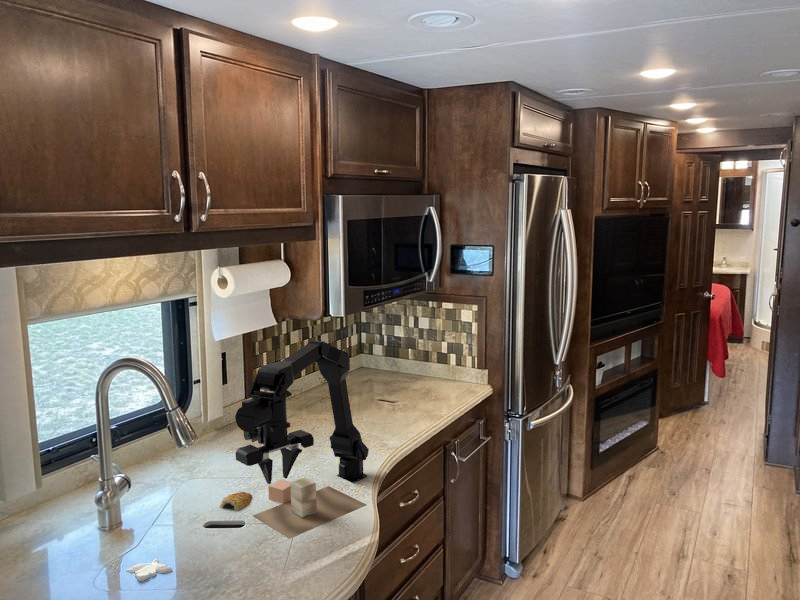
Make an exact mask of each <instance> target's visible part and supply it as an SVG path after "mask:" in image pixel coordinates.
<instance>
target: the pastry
mask: <svg viewBox="0 0 800 600" xmlns="http://www.w3.org/2000/svg"><path fill="white" fill-rule="evenodd" d="M252 498H253V495H252V494H251V493H249V492H246V491H240V492H235V493H232V494H228V495H226V497H224V498H223V499H222V500H221V503H220V504H219V506H218V508H219V509H223V510H224V509H227V510H228V509H229V510H231V509H234V511H237V512H238V511H241V510H243V509H245V508H246V507H247V506H248V505H249V504H250V502H251V501H252Z"/></svg>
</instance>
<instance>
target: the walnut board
mask: <svg viewBox="0 0 800 600" xmlns="http://www.w3.org/2000/svg"><path fill="white" fill-rule="evenodd" d="M316 505H317V513H315V514H312V515H310V516H308V517H305V518H303V519H301V518H300V517H298V516H296V515H294V514H293V513H291V500H289V501H287V502H285V503H284V504H283V503H280V504H279V505H276V506H273V507H270V508H269V509H266V510H264V511H261V512H258V513H256V514H253V515H252V517H254V518H255V519H257V520H258V521H260V522H261V523H263V524H265V525H266V526H268V527H269V528H271V529H272V530H274V531H276V532H278V533H279V534H281V535H282V536H284V537H285V538H287V539H292V538H294V537H297V536H299V535H301V534H304V533H305V532H308V531H311V530H313V529H315V528H317V527H319V526H323V525H324V524H327V523H329V522H331V521H333V520H336V519H338V518H340V517H342V516H345V515H347V514H349V513H352V512H354V511H356V510H358V509H361V508H363V507H365V506H367V503H364V502H362V501H360V500H358V499H356V498H354V497H352V496H350V495H348V494H346V493H344V492H342V491H340V490H337V489H336V488H333V487H331V486H329V485H327V486H324V487H322V488H320V489H316Z"/></svg>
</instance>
